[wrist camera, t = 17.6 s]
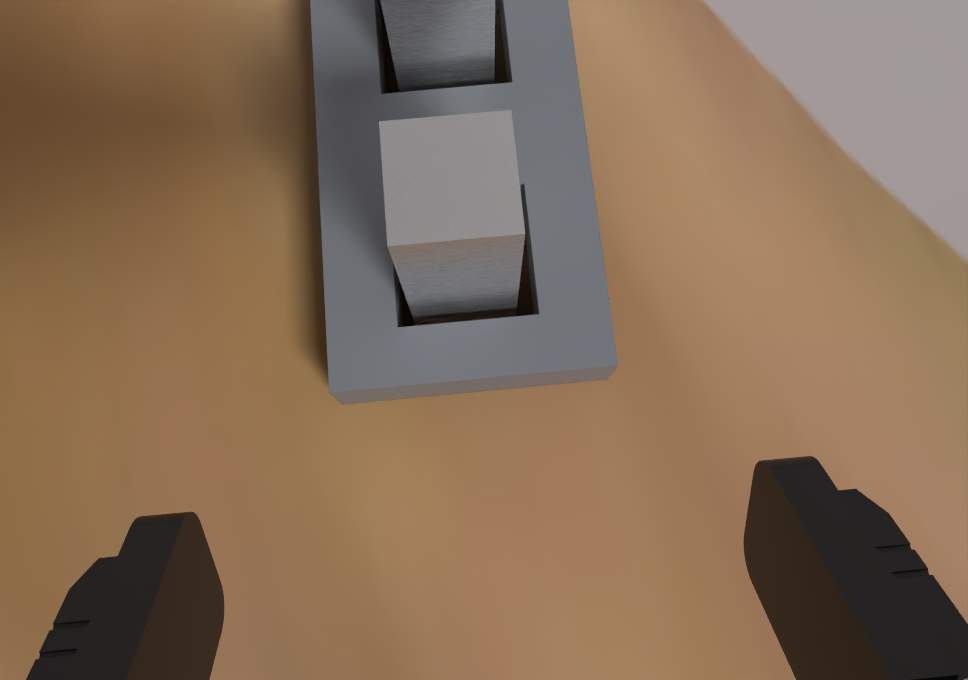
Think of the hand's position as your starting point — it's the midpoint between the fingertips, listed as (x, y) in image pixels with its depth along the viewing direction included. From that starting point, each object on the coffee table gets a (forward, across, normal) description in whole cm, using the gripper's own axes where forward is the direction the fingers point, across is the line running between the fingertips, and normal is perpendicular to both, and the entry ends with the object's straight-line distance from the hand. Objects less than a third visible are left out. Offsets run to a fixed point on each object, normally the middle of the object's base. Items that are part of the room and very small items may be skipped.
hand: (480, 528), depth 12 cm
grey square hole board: (+29, 0, +5) cm, 29 cm away
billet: (+25, 0, +9) cm, 26 cm away
